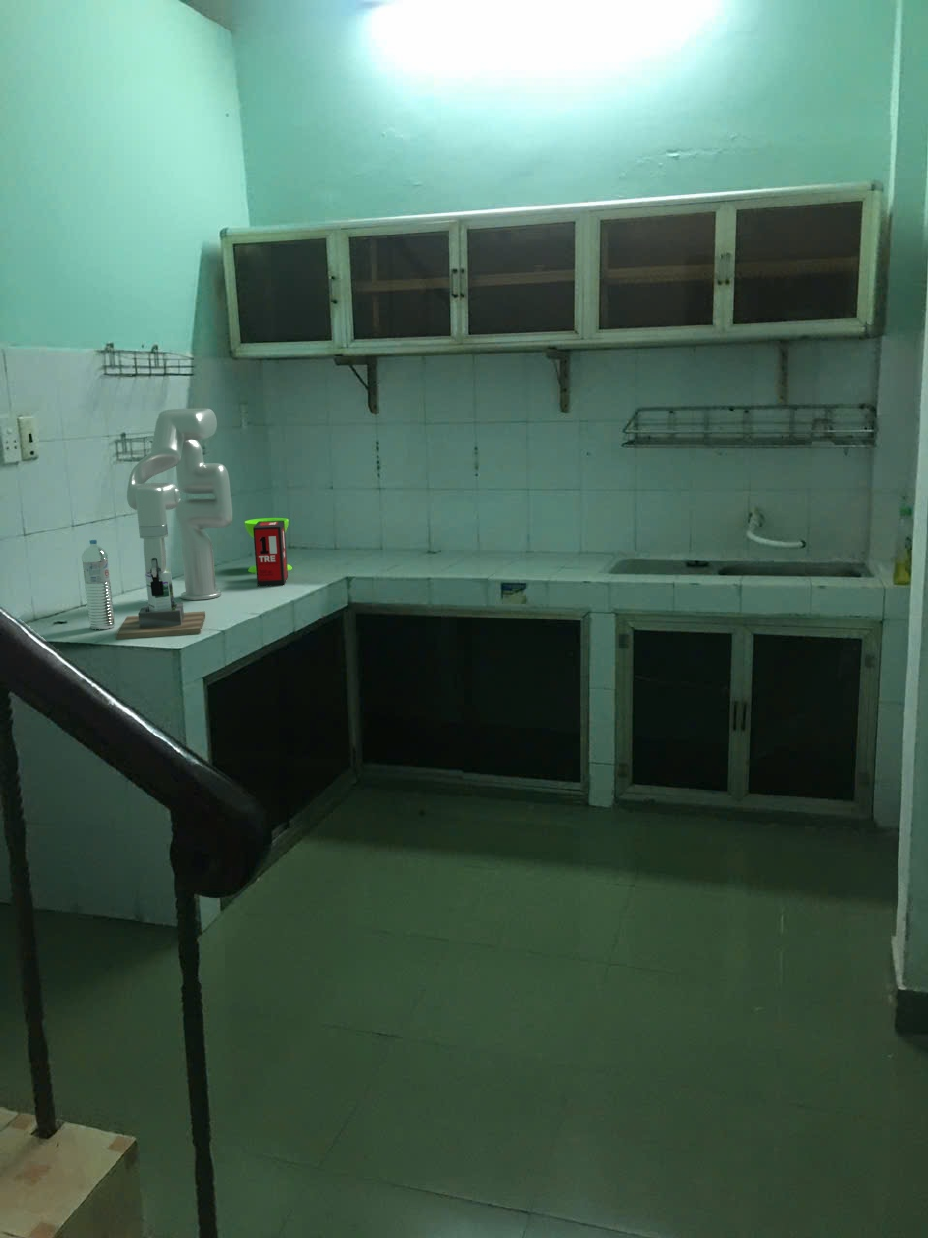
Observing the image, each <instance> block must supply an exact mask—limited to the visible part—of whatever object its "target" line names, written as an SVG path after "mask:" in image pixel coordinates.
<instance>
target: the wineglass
mask: <svg viewBox="0 0 928 1238" xmlns="http://www.w3.org/2000/svg"><path fill="white" fill-rule="evenodd" d="M259 521H284V523H285V533H287V531H288V530H287V529H288V527H289V521H290V519H288V518H284V517H283V518H281V517H268V518H267V517H266V518H255V519H248V520H245V521H244V527H245V529H246V532H247V533H248V534H249V536H250V537H251V538H253V539H254V531H253V528H254V526H255V525H256V524H257V523H258V522H259ZM287 567H288V571H291V570H292V569H293V567H292V566H291V565H290V564H288V563H287ZM247 572H249V573H250V574H251V573H252V574H257V571H256V564H255V565H252V566H250V567H249V568H248V570H247Z"/></svg>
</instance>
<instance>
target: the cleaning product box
mask: <svg viewBox="0 0 928 1238" xmlns="http://www.w3.org/2000/svg"><path fill="white" fill-rule="evenodd" d="M253 531H254V538H253V541H254V555H255V557H254V558H255V565H256V571H257V573H256V583H257V587H258V588H260V587H261V588H262V587H281V586H282V587H283V585H284V586H285V585H286V583H287V581H288V578H289V570H288V567H287V564H288V554H287V553H288V552H287V542H286V539H287V538H286V532H285V523H284V521H259V522H258V523H257V524H256V525H255V526H254V528H253ZM286 580H287V581H286Z"/></svg>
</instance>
